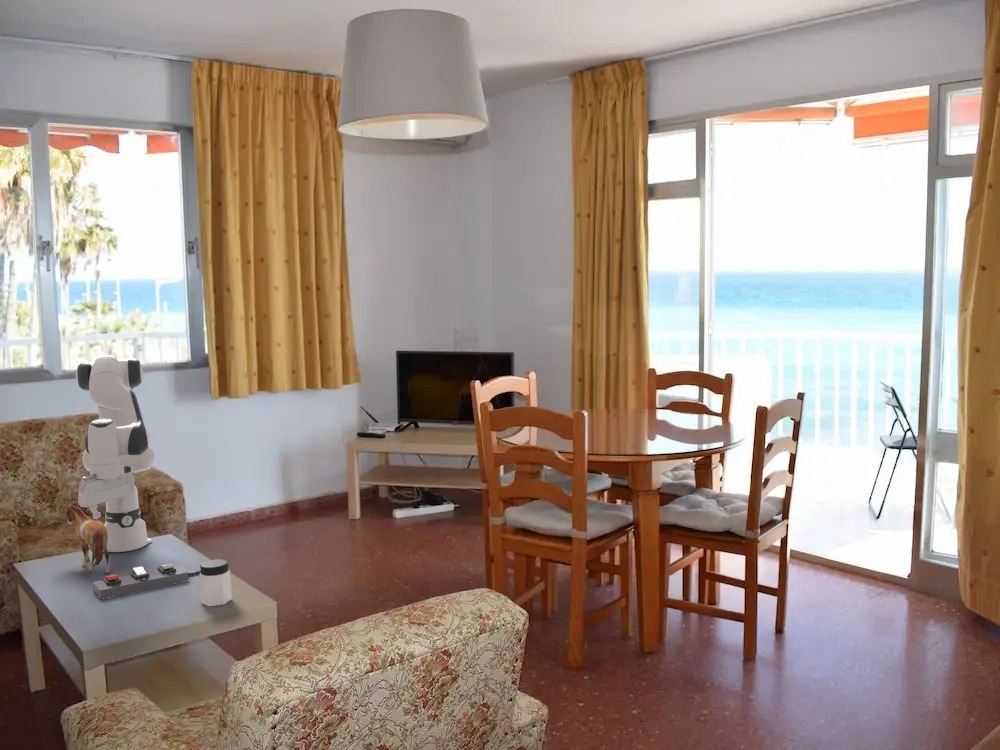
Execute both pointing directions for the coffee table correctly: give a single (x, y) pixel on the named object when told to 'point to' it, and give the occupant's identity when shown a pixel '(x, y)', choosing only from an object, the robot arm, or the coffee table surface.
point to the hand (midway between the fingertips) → (108, 514)
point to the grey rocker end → (166, 566)
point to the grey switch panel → (141, 581)
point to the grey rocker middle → (139, 571)
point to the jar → (215, 582)
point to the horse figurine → (89, 536)
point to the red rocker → (111, 577)
